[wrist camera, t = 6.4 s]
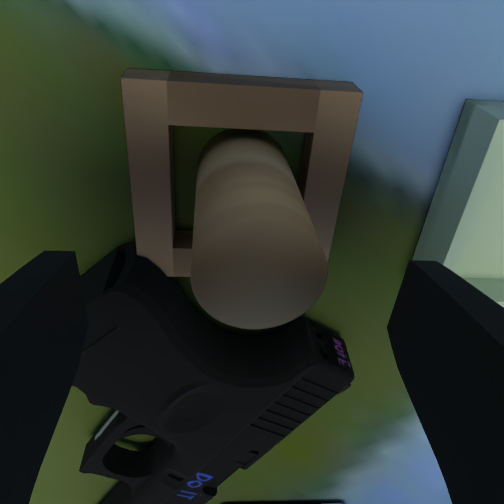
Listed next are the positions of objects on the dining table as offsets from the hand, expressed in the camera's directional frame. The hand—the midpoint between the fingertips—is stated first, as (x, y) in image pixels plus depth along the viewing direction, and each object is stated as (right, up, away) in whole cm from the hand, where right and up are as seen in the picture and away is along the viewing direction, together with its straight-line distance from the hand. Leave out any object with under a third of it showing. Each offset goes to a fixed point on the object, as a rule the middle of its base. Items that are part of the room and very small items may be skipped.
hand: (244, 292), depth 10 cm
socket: (0, +3, +5) cm, 6 cm away
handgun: (-6, -7, +12) cm, 15 cm away
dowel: (0, +4, +5) cm, 6 cm away
